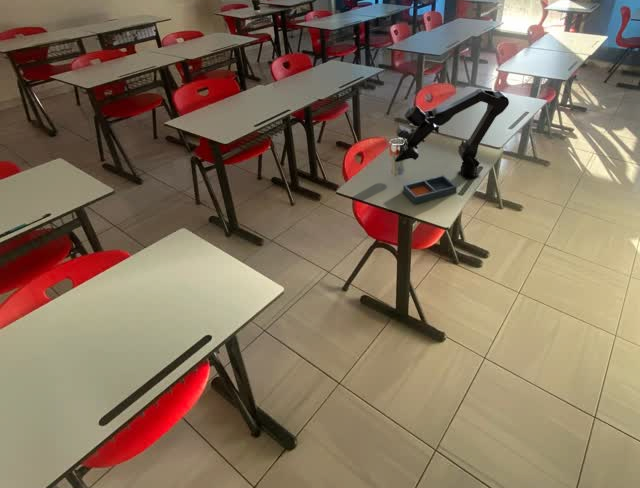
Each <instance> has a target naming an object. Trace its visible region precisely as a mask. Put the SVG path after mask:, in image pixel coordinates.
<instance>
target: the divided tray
mask: <svg viewBox="0 0 640 488" xmlns="http://www.w3.org/2000/svg"><path fill="white" fill-rule="evenodd" d="M402 187H403V188H402V191H403V193H404V194H405V195H406V196H407V197H408V198H409V200H410V201H411V202H412V203H413V204H414V205H416V204H421V203H423V202H427V201H431V200H435V199H439V198H442V197H446V196H450V195H453V194H456V193H457V185H455V184H454V183H453V182H452V181H451V180H450V179H449V178H448V177H446V176H445V174H442V175H439V176H435V177H430V178H427V179H423V180H419V181H415V182H411V183H407V184H403V186H402Z"/></svg>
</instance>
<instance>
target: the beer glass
mask: <svg viewBox="0 0 640 488" xmlns="http://www.w3.org/2000/svg"><path fill="white" fill-rule="evenodd" d="M405 146H406V144H405V140H404V139H402V138H399V137H395V138H392V139H390V140H389V147H388V148H389V149H388V150H389V151H388V153H389V157H390V162H391V169H390V173H391V174H392V175H393V176H397V177H399V176H403V175H404V174H405V173H406V170H405V160H406V159H405V160H402V161H399V162H396V161H395V159H396V158H397V157H398V156H399V154H400V153H401V152H402V147H405Z"/></svg>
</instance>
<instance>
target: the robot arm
mask: <svg viewBox="0 0 640 488" xmlns="http://www.w3.org/2000/svg"><path fill="white" fill-rule="evenodd" d="M478 103H485V104H486V111H485V112H484V114H483V116H482V117H481V119H480V120H479V122H478V124H477V125H476V127H475V129H474V130H473V132H472V133H471V135H470V137H469V138H468V139H467V140H465V139H462V140H461V143H460V144H459V146H458V155H459V157H460V159H461V160H462V162H461V166H460V170H459V171H458V174H459V175H461V176H462V177H463V178H464V179H466V180H470V179H474V178H477V177H479V173H478V167H479V166H480V163H481V162H480V161H479V158H478V157H477V154H478V150H479V145H481V142H482V141H483V140H484V138H485V136H486V134H487V133H488V131H489V129H490V128H491V126H492V124H493V122H494V121H495V119H496V118H497V117H498V116H500V115H501V114H502V113H504V111H505V110H506V109H507V108H508V107H509V104H510V101H509V98H508V97H507V96H506V95H505V93H503V92H502V91H500V90H495V91H493V90H489V89H483V88H477V89H476V90H475V91H472V92H470V93H469V94H467V95H465V96H463V97H461V98H459V99H457V100H455V101H454V102H451V103H448V104H443V105H439V106H437V107H434V108H432V109H427V110H422V109H421V108H420V106H418V105H417V104H416V105H415V106H413V107H410V108H409V109H407V111H406V112H405V114H404V118H405V119H406V120H407V121H408V122H409V123H410V124H411V125H412V126H413V127H412V128H411V129H410V128H408V127H406V126H403V125H401V124H400V125H398V127H397V128H396V131H395V133H396V136H397V137H398V138H402V139H404V140H405V144H406V146H405V147H402V152H401V153H400V154H399V156H398V157H397V158H396V159H395V161H396V162H399V161H402V160H410V159H413V160H414V161H416V160H417V159H419V151H418V150H417V149H418V148H419V145H420V144H421V143H425V142H426V138H428V136H429V135H431V134H432V133H433V132H435V133H436V134H439V133H440V126H444V125H445V124H446V123H448V122H450V120H451V119H452V118H453V117H454V116H455V115H458V114H459V113H461V112H463V111H466V110H467V109H469V108H471V107H473V106H475V105H477V104H478Z"/></svg>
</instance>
